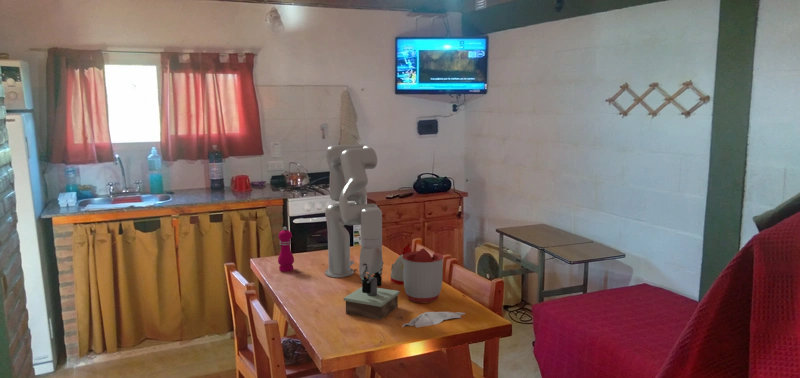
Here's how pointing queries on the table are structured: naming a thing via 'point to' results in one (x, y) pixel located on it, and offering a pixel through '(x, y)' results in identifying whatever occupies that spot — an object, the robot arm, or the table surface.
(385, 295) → the lid
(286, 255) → the pepper mill
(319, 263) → the table surface
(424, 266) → the citrus juicer
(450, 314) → the cloth
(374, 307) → the box
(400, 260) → the kitchen timer
